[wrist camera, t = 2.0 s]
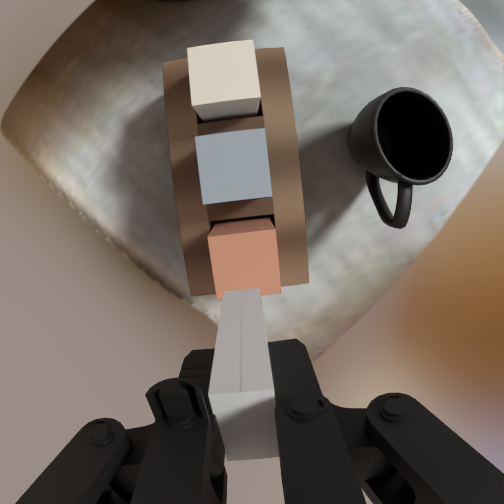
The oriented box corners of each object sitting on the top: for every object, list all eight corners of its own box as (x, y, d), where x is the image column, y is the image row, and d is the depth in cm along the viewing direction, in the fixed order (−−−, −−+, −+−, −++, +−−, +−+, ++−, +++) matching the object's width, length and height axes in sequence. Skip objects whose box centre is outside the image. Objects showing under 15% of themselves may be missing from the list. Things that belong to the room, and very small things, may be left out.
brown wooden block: (179, 85, 27) (162, 62, 20) (275, 73, 27) (283, 47, 20) (201, 271, 32) (191, 296, 25) (295, 260, 32) (309, 283, 25)
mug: (323, 207, 30) (356, 220, 21) (340, 98, 28) (377, 72, 18) (390, 221, 31) (438, 239, 22) (406, 120, 28) (456, 107, 19)
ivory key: (200, 78, 23) (187, 48, 16) (250, 72, 23) (253, 39, 16) (205, 124, 24) (191, 105, 17) (256, 117, 24) (261, 97, 17)
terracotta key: (216, 221, 26) (207, 237, 19) (267, 215, 26) (275, 229, 19) (223, 269, 27) (217, 300, 20) (272, 263, 27) (281, 292, 20)
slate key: (207, 147, 24) (194, 136, 18) (259, 141, 24) (264, 128, 18) (213, 197, 25) (203, 204, 19) (264, 191, 25) (272, 196, 19)
